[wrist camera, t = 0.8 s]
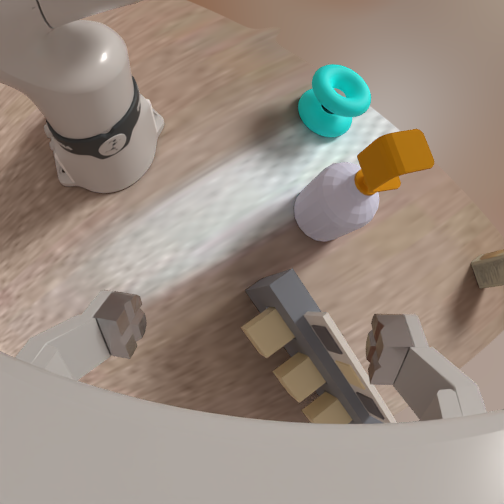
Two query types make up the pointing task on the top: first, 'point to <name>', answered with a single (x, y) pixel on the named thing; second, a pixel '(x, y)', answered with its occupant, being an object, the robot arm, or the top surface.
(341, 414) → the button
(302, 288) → the panel
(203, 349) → the top surface
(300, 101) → the donuts
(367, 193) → the soap bottle
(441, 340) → the top surface
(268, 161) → the top surface
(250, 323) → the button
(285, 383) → the button mid
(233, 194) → the top surface
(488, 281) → the skincare box
